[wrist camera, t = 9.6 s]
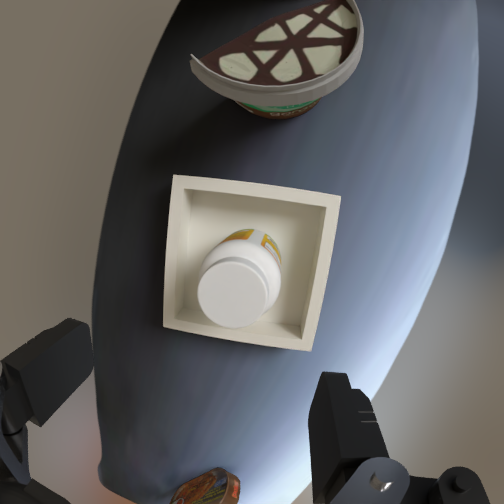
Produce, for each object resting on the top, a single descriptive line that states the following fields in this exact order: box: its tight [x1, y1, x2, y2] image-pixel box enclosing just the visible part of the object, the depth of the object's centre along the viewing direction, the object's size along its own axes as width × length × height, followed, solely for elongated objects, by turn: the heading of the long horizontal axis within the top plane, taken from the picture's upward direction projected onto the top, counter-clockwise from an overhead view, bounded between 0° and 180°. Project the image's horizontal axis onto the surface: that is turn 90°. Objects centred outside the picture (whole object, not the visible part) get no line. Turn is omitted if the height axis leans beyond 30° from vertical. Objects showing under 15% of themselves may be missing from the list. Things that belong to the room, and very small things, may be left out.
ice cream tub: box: [190, 0, 364, 119], centre depth 18 cm, size 12×6×10 cm, turn 122°
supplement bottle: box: [197, 229, 281, 329], centre depth 21 cm, size 5×5×10 cm
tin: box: [170, 468, 240, 504], centre depth 30 cm, size 15×3×8 cm, turn 138°
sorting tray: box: [163, 175, 341, 351], centre depth 25 cm, size 13×13×4 cm
